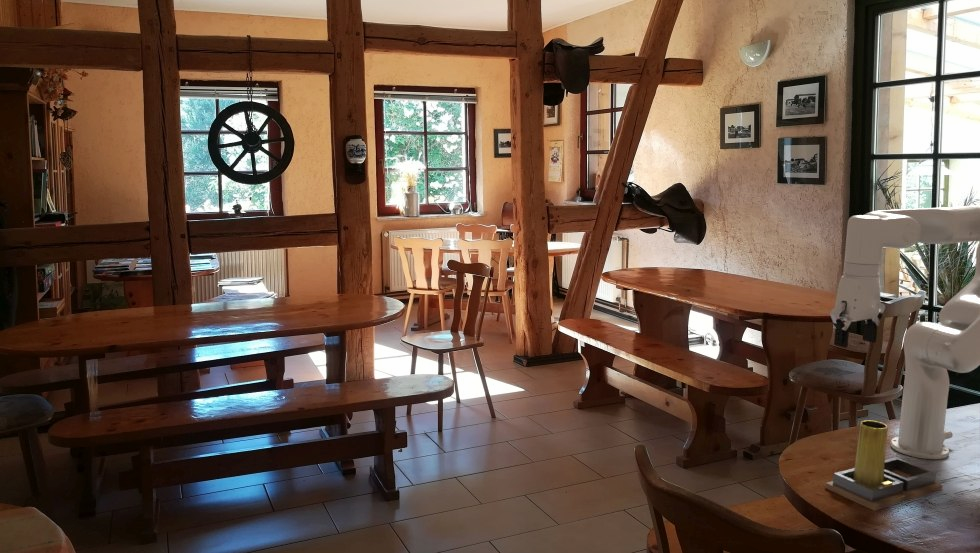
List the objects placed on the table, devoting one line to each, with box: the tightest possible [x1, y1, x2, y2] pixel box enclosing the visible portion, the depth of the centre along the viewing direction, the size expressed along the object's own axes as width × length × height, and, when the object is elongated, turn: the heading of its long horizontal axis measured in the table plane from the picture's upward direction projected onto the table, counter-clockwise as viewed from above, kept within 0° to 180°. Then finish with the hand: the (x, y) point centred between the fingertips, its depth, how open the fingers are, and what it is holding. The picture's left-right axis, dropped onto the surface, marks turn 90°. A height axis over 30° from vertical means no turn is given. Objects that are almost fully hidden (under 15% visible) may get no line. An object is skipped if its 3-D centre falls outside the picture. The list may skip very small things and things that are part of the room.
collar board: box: [825, 470, 943, 512], centre depth 174 cm, size 22×12×1 cm, turn 118°
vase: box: [853, 419, 889, 488], centre depth 171 cm, size 6×6×14 cm
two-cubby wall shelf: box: [832, 456, 937, 502], centre depth 174 cm, size 21×10×3 cm, turn 118°
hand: (855, 343), depth 185 cm, fingers open, 9 cm apart
